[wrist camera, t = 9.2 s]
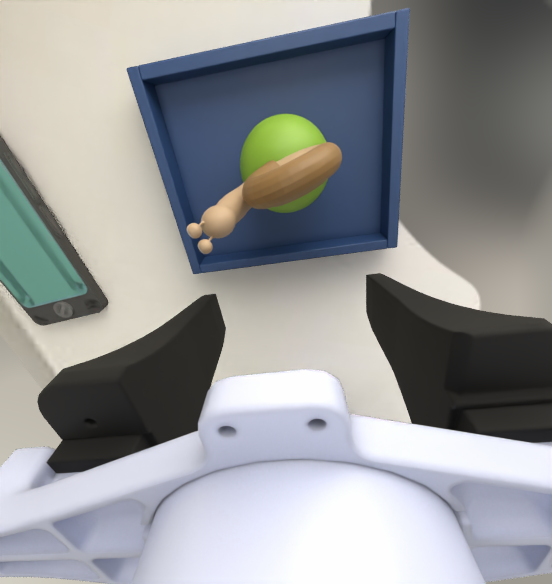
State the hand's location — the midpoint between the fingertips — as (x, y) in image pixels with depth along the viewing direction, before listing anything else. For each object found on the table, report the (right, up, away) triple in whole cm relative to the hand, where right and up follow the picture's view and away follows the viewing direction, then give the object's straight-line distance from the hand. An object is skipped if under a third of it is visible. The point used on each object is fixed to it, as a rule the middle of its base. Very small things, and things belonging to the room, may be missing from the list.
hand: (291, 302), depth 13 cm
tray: (-1, +10, +7) cm, 12 cm away
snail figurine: (-1, +9, +6) cm, 11 cm away
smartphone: (-21, +5, +10) cm, 24 cm away
